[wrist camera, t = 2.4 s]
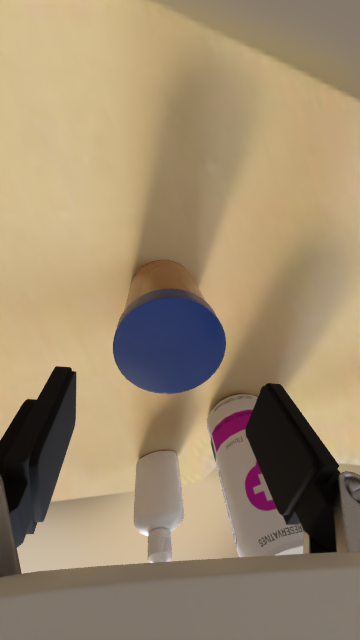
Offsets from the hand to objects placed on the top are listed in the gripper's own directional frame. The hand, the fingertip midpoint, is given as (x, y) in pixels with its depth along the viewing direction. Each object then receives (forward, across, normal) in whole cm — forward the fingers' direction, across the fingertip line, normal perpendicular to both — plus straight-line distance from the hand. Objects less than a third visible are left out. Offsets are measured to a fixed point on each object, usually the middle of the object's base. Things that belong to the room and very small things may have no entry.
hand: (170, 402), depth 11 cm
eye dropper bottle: (+15, -4, +24) cm, 28 cm away
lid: (+5, 0, 0) cm, 5 cm away
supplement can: (+15, -12, +15) cm, 24 cm away
